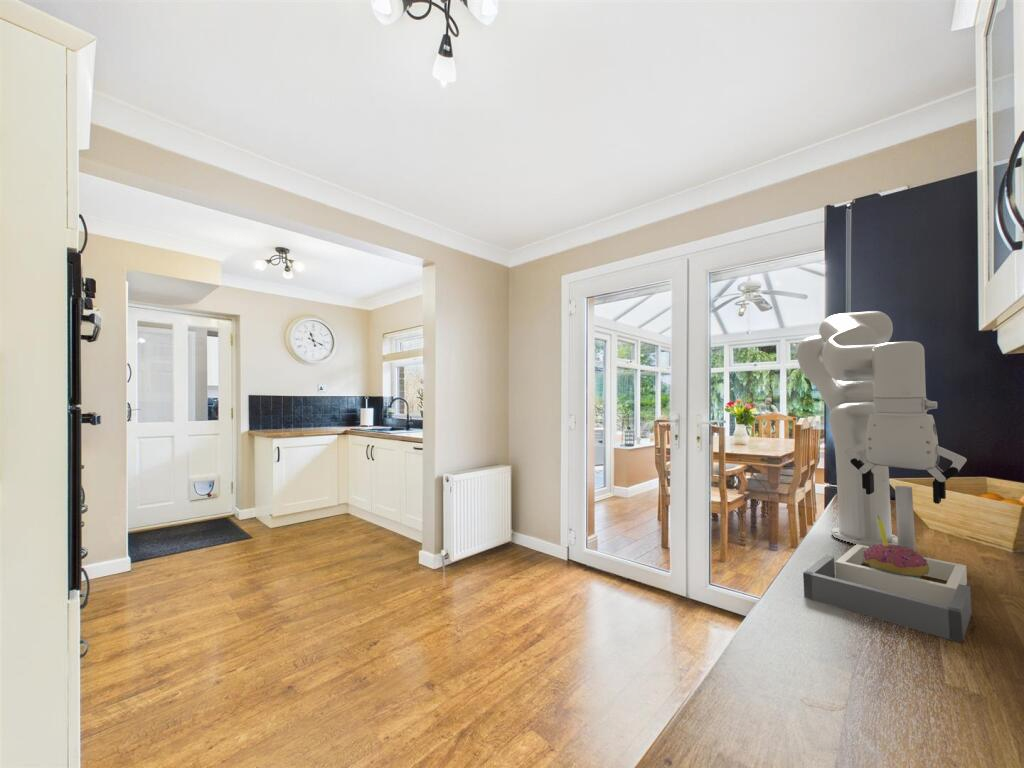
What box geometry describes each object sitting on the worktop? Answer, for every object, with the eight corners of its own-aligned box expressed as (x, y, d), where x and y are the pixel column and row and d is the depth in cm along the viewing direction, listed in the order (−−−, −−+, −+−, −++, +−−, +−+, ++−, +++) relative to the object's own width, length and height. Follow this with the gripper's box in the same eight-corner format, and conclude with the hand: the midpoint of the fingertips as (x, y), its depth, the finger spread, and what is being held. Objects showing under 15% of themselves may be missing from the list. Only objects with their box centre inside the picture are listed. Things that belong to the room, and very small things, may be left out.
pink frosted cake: (863, 588, 76) (860, 518, 76) (866, 573, 82) (863, 508, 83) (931, 603, 70) (928, 526, 70) (929, 586, 76) (925, 516, 77)
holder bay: (827, 577, 81) (826, 554, 81) (971, 613, 67) (970, 586, 67) (804, 597, 73) (803, 572, 73) (962, 643, 59) (960, 612, 59)
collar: (857, 558, 89) (854, 480, 89) (967, 581, 77) (962, 492, 77) (835, 578, 79) (832, 491, 80) (956, 608, 67) (951, 506, 68)
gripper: (966, 407, 79) (970, 502, 79) (848, 405, 92) (851, 487, 92) (962, 409, 74) (965, 510, 74) (838, 407, 88) (841, 493, 87)
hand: (902, 497), depth 83 cm, fingers open, 9 cm apart
